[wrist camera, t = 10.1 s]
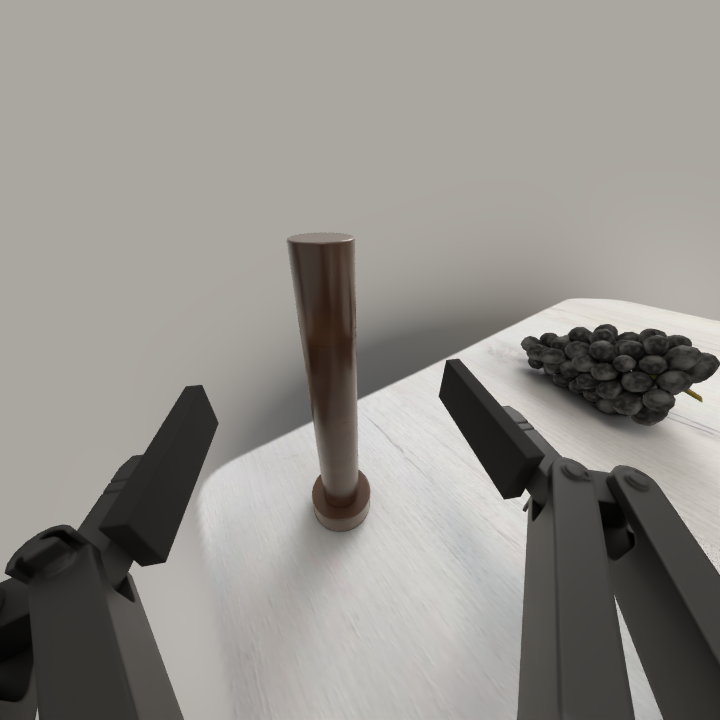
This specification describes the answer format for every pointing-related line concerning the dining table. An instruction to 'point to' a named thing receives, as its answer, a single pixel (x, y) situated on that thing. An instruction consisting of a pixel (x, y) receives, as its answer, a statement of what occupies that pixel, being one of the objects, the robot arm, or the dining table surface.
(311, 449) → the dining table surface
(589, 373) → the fruit
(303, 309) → the stir stick
